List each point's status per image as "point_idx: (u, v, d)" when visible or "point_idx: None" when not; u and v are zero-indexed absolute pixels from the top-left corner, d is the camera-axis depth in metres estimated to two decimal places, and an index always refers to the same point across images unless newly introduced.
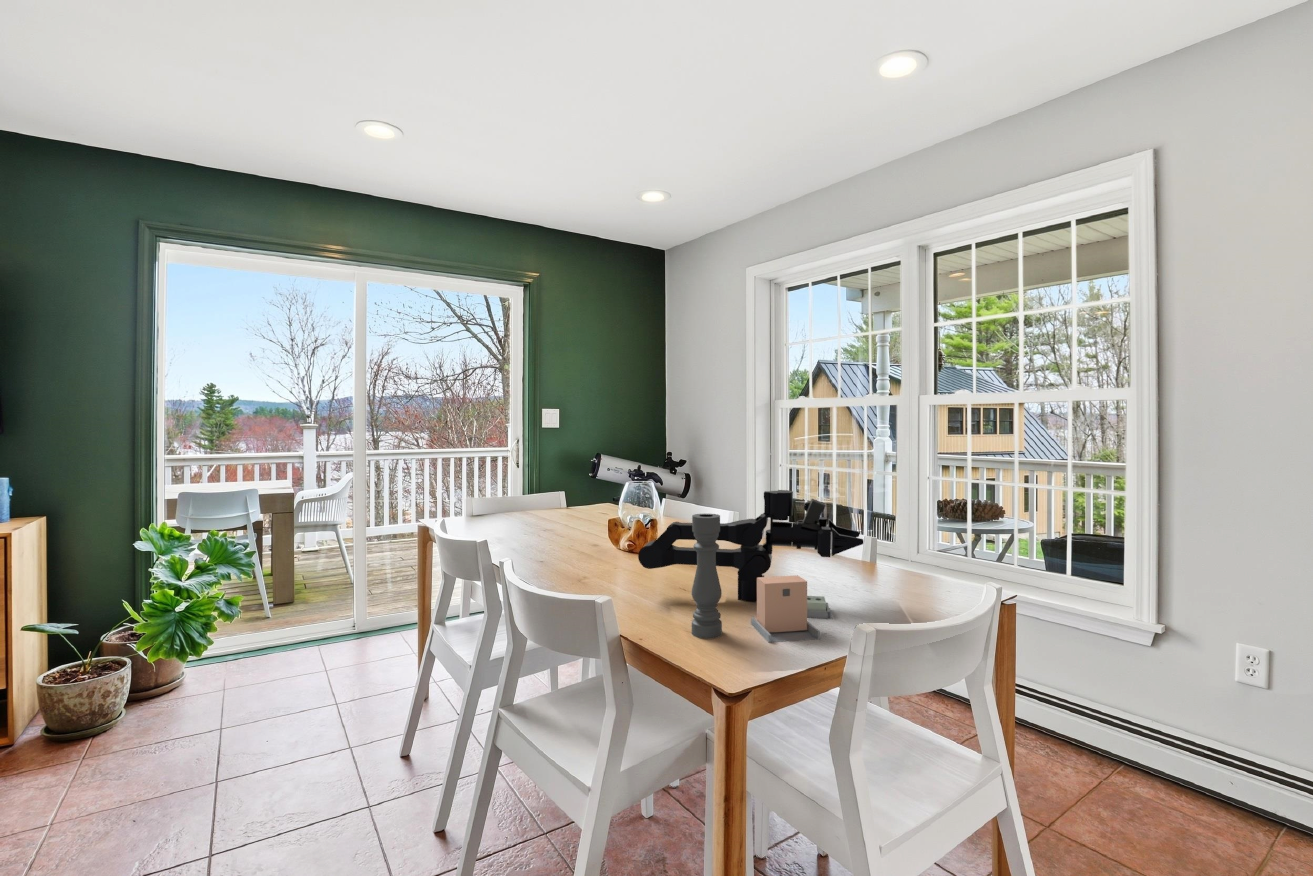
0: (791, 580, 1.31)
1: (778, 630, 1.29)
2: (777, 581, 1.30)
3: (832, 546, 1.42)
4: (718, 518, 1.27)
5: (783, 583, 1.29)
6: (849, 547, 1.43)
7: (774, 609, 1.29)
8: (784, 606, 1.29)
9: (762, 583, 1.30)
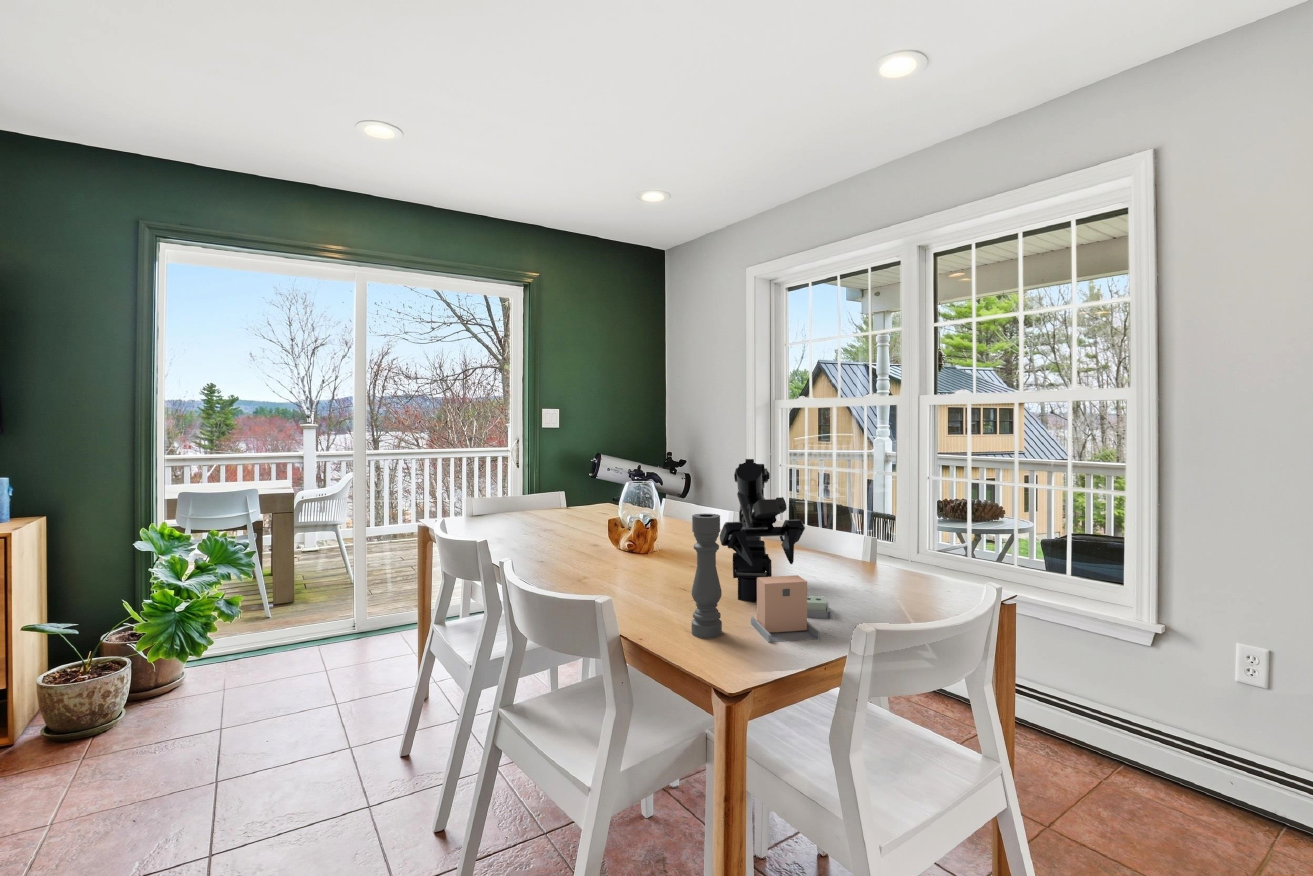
0: (791, 580, 1.31)
1: (778, 630, 1.29)
2: (777, 581, 1.30)
3: (729, 541, 1.43)
4: (718, 518, 1.27)
5: (783, 583, 1.29)
6: (743, 557, 1.41)
7: (774, 609, 1.29)
8: (784, 606, 1.29)
9: (762, 583, 1.30)
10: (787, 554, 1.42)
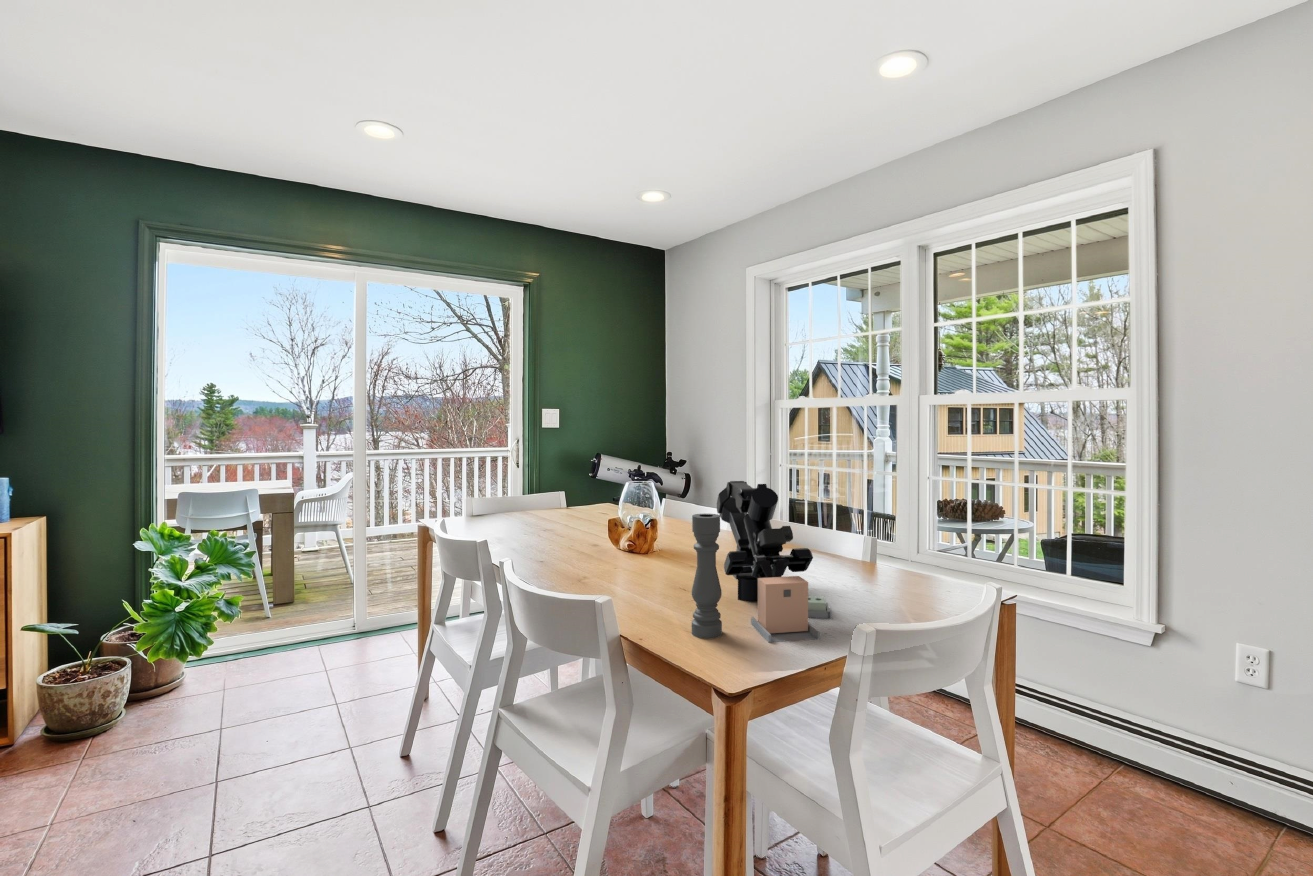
0: (792, 581, 1.30)
1: (779, 631, 1.29)
2: (778, 582, 1.30)
3: (753, 570, 1.39)
4: (718, 518, 1.27)
5: (784, 584, 1.29)
6: None
7: (775, 610, 1.29)
8: (785, 607, 1.29)
9: (763, 584, 1.29)
10: None
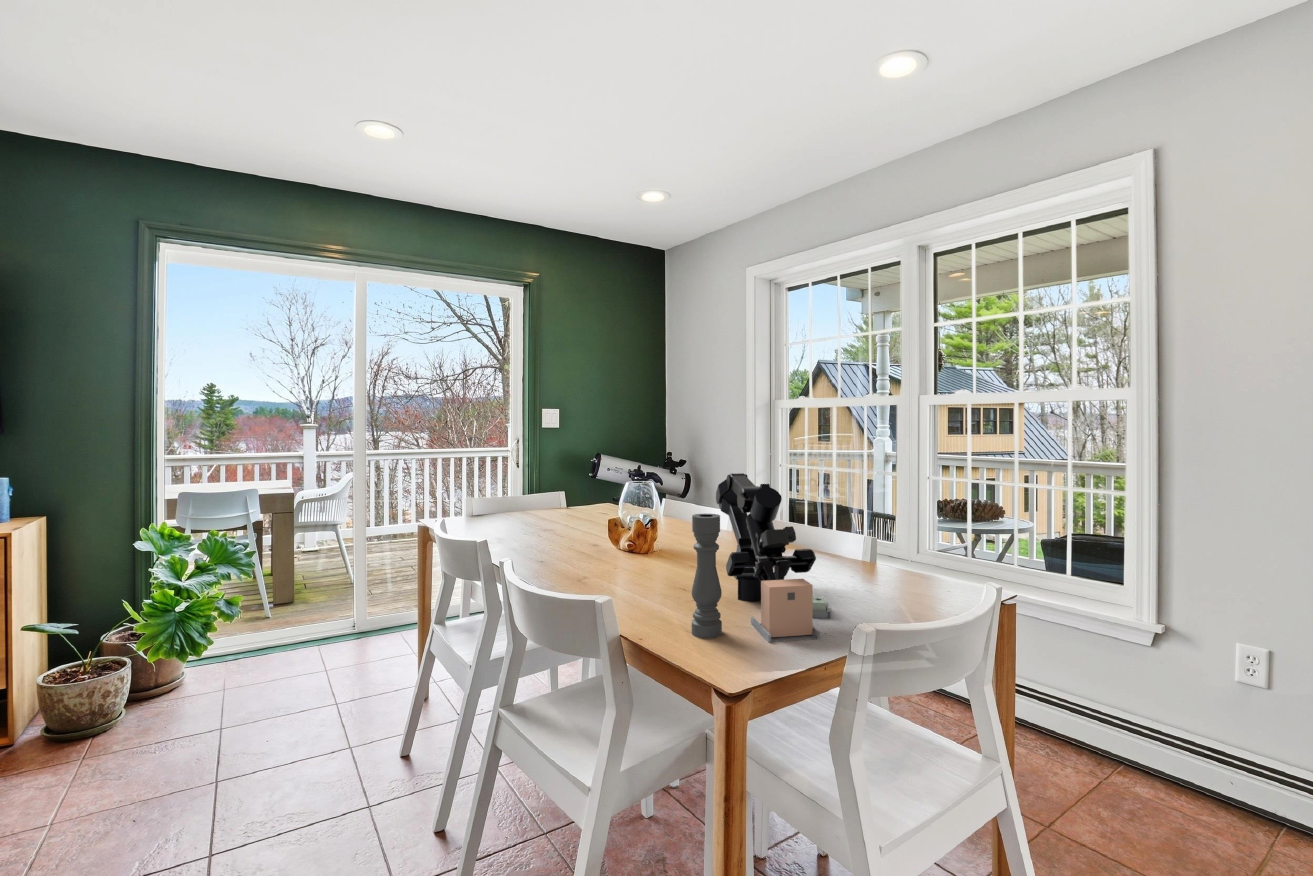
0: (796, 583, 1.28)
1: (783, 635, 1.27)
2: (782, 584, 1.28)
3: (755, 571, 1.37)
4: (718, 518, 1.27)
5: (788, 587, 1.27)
6: None
7: (779, 613, 1.26)
8: (789, 610, 1.27)
9: (766, 587, 1.27)
10: None
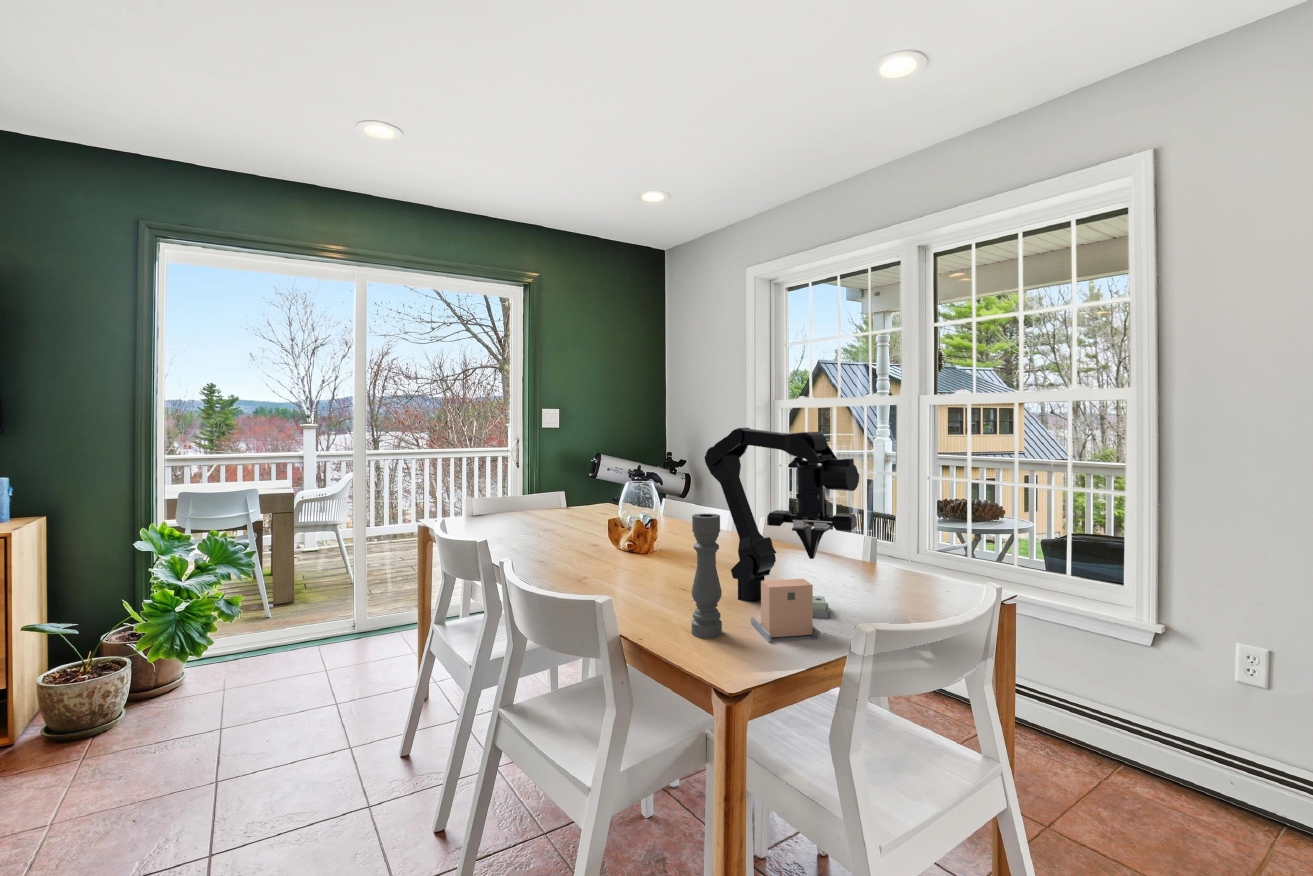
0: (796, 583, 1.28)
1: (783, 635, 1.27)
2: (782, 584, 1.28)
3: (826, 529, 1.39)
4: (718, 518, 1.27)
5: (788, 587, 1.27)
6: (815, 546, 1.40)
7: (779, 613, 1.26)
8: (789, 610, 1.27)
9: (766, 587, 1.27)
10: (810, 547, 1.41)
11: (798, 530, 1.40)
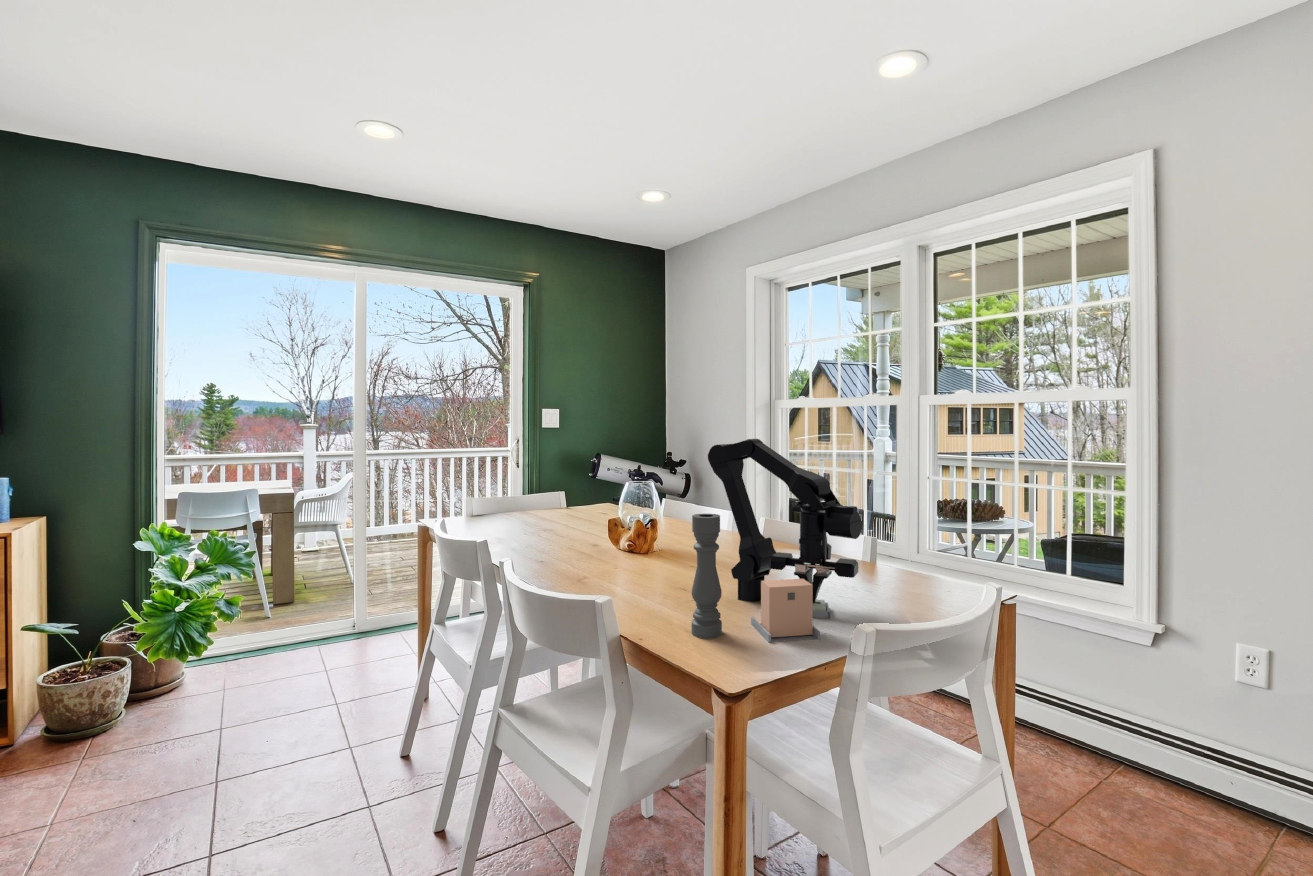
0: (796, 583, 1.28)
1: (783, 635, 1.27)
2: (782, 584, 1.28)
3: (828, 574, 1.40)
4: (718, 518, 1.27)
5: (788, 587, 1.27)
6: (817, 591, 1.41)
7: (779, 613, 1.26)
8: (789, 610, 1.27)
9: (766, 587, 1.27)
10: None
11: (800, 575, 1.41)
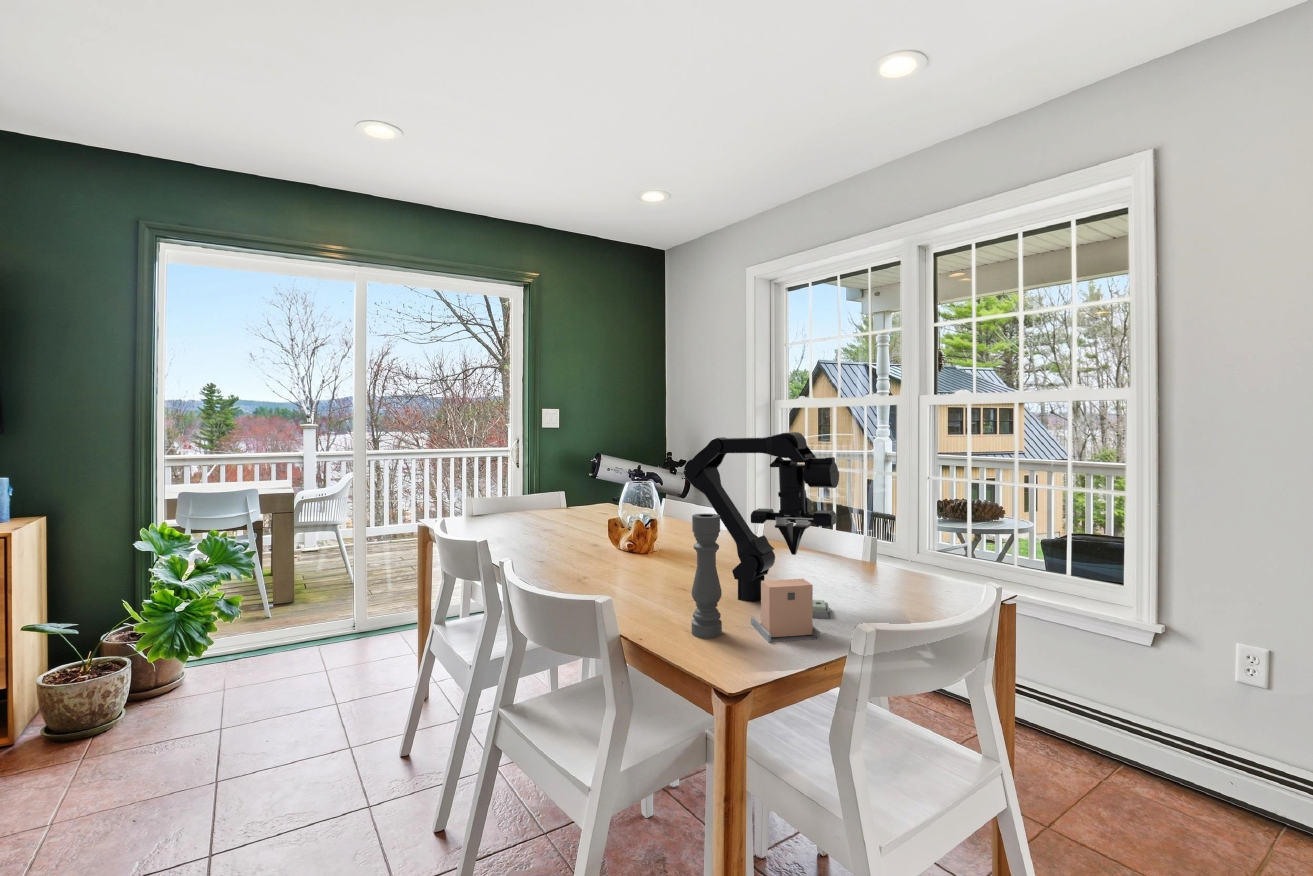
0: (796, 583, 1.28)
1: (783, 635, 1.27)
2: (782, 584, 1.28)
3: (807, 526, 1.45)
4: (718, 518, 1.27)
5: (788, 587, 1.27)
6: (797, 542, 1.45)
7: (779, 613, 1.26)
8: (789, 610, 1.27)
9: (766, 587, 1.27)
10: (792, 543, 1.47)
11: (780, 527, 1.46)
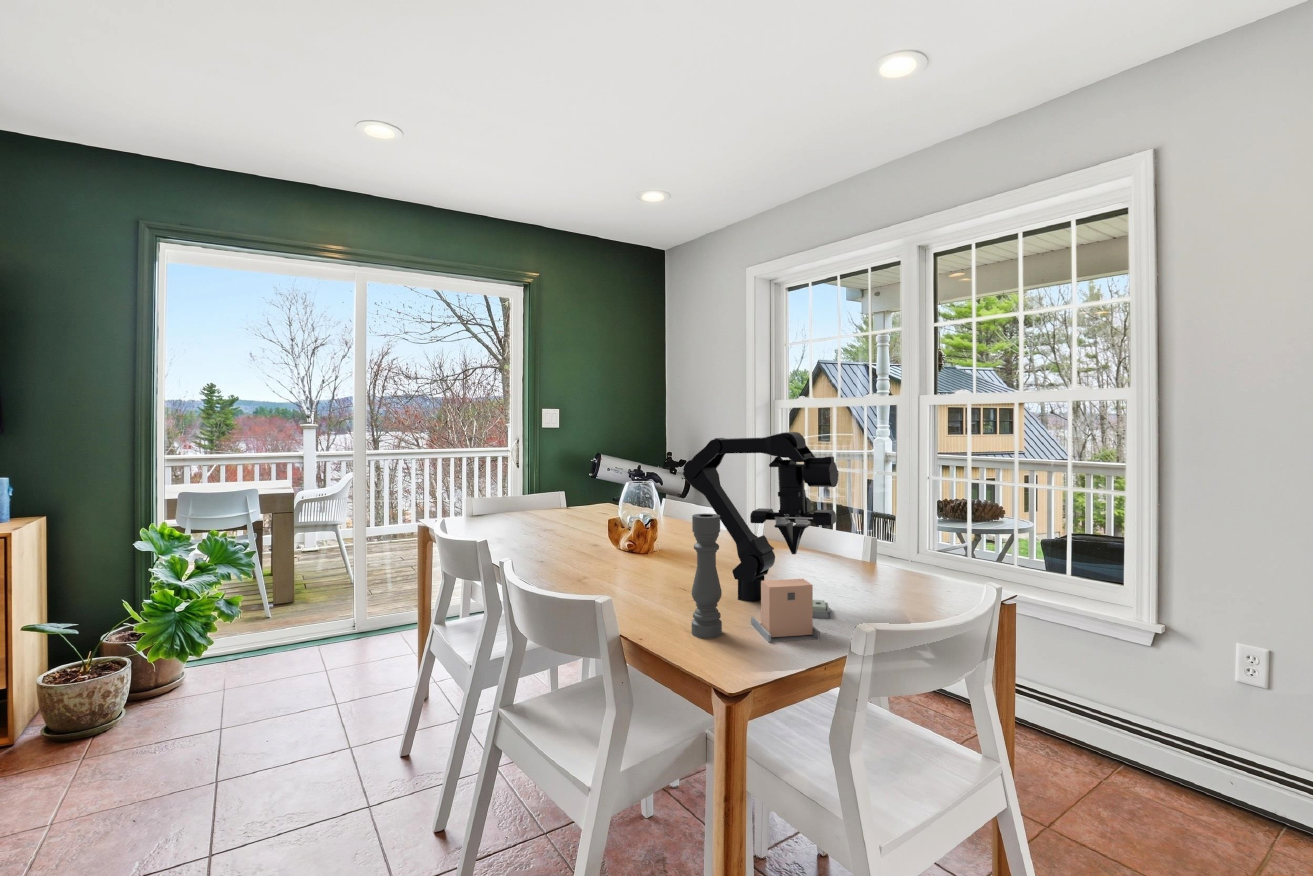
0: (796, 583, 1.28)
1: (783, 635, 1.27)
2: (782, 584, 1.28)
3: (807, 525, 1.45)
4: (718, 518, 1.27)
5: (788, 587, 1.27)
6: (797, 542, 1.46)
7: (779, 613, 1.26)
8: (789, 610, 1.27)
9: (766, 587, 1.27)
10: (792, 542, 1.47)
11: (780, 527, 1.46)
